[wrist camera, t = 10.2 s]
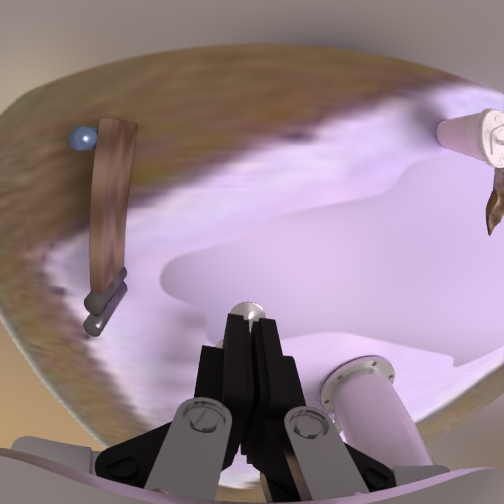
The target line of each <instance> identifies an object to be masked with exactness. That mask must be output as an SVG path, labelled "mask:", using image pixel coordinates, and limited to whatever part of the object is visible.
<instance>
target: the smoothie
mask: <svg viewBox="0 0 504 504" xmlns="http://www.w3.org/2000/svg"><path fill="white" fill-rule="evenodd" d="M436 135H437V139H438V142H439V143H440V145H441V146H442V147H444V148H446V149H449V150H452V151H455V152H459V153H462V154H465V155H468V156H471V157H474V158H476V159H479V160H482V161H485V162H486V163H487V164H488V165H489V166H491V167H495V168H496V167H497V168H503V167H504V114H503V113H502V112H500V111H499V110H496V109H485V110H484V111H482V112H481V113H477V114H473V115H468V116H463V117H459V118H454V119H449V120H445V121H442V122H440V123H439V124H438V126H437V130H436Z"/></svg>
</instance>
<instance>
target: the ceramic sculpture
mask: <svg viewBox="0 0 504 504" xmlns="http://www.w3.org/2000/svg"><path fill="white" fill-rule="evenodd" d="M503 215H504V167H503V168H497V167H496V168H495V176H494V185H493V191H492V193H491V196H490V199H489V201H488V203H487V206H486V224H487V229H488V234H489V236H490V235H491V233H492V231H493V229H494V227H495V226H496V225H497V224H498V223H499V222H500V221H501V219H502V216H503Z"/></svg>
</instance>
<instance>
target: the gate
mask: <svg viewBox="0 0 504 504" xmlns="http://www.w3.org/2000/svg"><path fill="white" fill-rule="evenodd" d="M137 126H138V124H135V123H131V122H126V121H121V120H116V119H103V118H100V123H99V129H98V135H97V142H96V150H95V158H94V167H93V178H92V190H91V206H90V239H89V252H90V286H91V292H90V293H89V294H88V295H87V297H86V298H85V299H84V306H85V308H86V309H87V311H88V312H90V313H92V314H99V313H100V312H101V311H102V309H103V308H104V307H105V305H106V304H107V302H108V301H109V299H110V298H111V297H112V295H113V294H114V292H115V291H116V290H117V288H118V287H119V285H120V284H121V283H122V281H123V280H124V279H125V277H126V275H127V271H126V268H125V267H124V247H125V228H126V214H127V202H128V192H129V182H130V174H131V166H132V158H133V151H134V144H135V138H136V132H137Z"/></svg>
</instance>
